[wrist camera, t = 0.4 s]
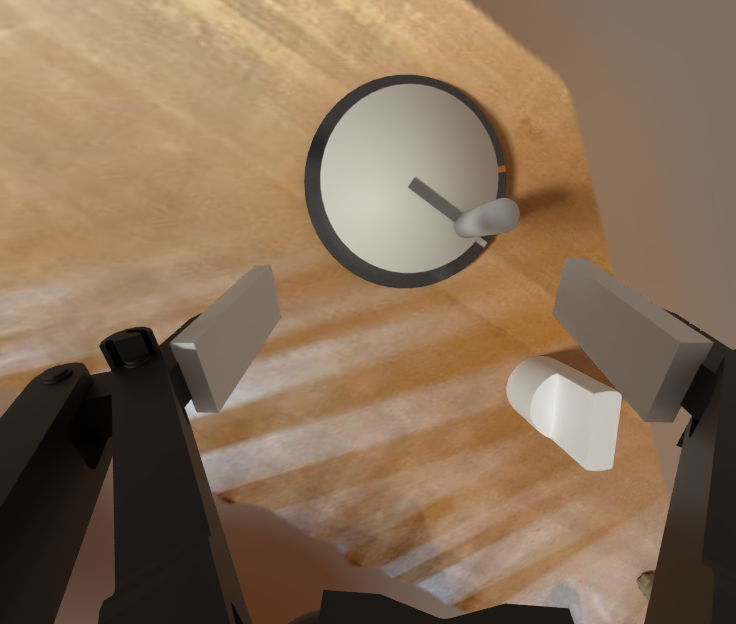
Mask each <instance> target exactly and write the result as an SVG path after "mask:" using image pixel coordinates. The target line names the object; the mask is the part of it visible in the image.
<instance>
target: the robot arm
mask: <svg viewBox="0 0 736 624" xmlns="http://www.w3.org/2000/svg"><path fill="white" fill-rule="evenodd" d="M552 315H553V316H554V317H555V318H556V319H557V320H558V322H559V323H560V324H561V325H562V326H563V327H564V329H565V330H566V331H567V332H568V333H569V334H570V336H571V337H572V338H573V339H574V340H575V341H576V343H577V344H578V345H579V346H580V347H581V348H582V350H583V351H584V352H585V353H586V354H587V355H588V357H589V358H590V359H591V360H592V361H593V362H594V364H595V365H596V366H597V367H598V368H599V369H600V371H601V372H602V373H603V374H604V375H605V376H606V378H607V379H608V380H609V381H610V382H611V383H612V385H613V386H614V387H615V388H616V389H617V390H618V391H619V393H620V394H621V395H622V396H623V397H624V398H625V400H626V401H627V402H628V403H629V404H630V405H631V407H632V408H633V409H634V410H635V411H636V412H637V414H638V415H639V416H640V417H641V418H642V419H643V421H644V422H673V421H674V419H675V417H676V415H677V414H678V411H679V410H680V408H681V406H682V407H683V408H684V409H685V410H687V412H689V413H690V414H691V415H692V418H691V419H690V421H689V423H688V425H687V427H686V428H685V430H684V432H683V434H682V436H681V438H680V440H679V442H678V443H677V446H679V447H682V450H681V455H680V460H679V464H678V470H677V473H676V478H675V483H674V488H673V492H672V497H671V501H670V506H669V511H668V515H667V520H666V525H665V529H664V534H663V539H662V543H661V548H660V553H659V557H658V562H657V567H656V571H655V576H654V581H653V585H652V590H651V595H650V599H649V604H648V609H647V613H646V618H645V623H644V624H736V349H735V350H732V349H730V348H728V347H727V346H725V345H724V344H722V343H721V342H719V341H718V340H716V339H714V338H713V337H711V336H709V335H708V334H707V333H705V332H704V331H700V329H699V328H697V327H696V326H694V325H692V324H689V322H688V321H686V320H685V319H683V318H682V317H680V316H679V315H677V314H675V313H672V312H670V311H667V310H665V309H662V308H660V307H659V306H657V305H656V304H654V303H653V302H651V301H649V300H648V299H647V298H645V297H644V296H642V295H640V294H639V293H637V292H636V291H634V290H633V289H631V288H629V287H628V286H627V285H625V284H624V283H622V282H621V281H619V280H618V279H616V278H615V277H613V276H612V275H610V274H609V273H607V272H605V271H604V270H602V269H601V268H599V267H598V266H596V265H595V264H593V263H592V262H590V261H589V260H587V259H586V258H565V262H564V266H563V270H562V275H561V279H560V283H559V288H558V292H557V296H556V301H555V305H554V309H553V314H552ZM280 318H281V313H280V308H279V303H278V298H277V293H276V288H275V283H274V278H273V273H272V269H271V265H267V266H254V267H253V268H252V269H251V270H250V271H249V272H248V273H247V274H246V275H244V276H243V277H242V278H241V279H240V280H239V281H238V282H237V283H236V284H234V285H233V286H232V287H231V288H230V289H229V290H228V291H227V292H225V293H224V294H223V295H222V296H221V297H220V298H219V299H218V300H217V301H215V302H214V303H213V304H212V305H211V306H210V307H209V308H208V309H207V310H205V311H204V312H203V313H201V314H199V315H197V316H195V317H193V318H191V319H189V320H188V321H187V322H186V323H185V324H184V325H182V326H181V328H179V329H178V330H177V331H176V332H174V334H172V335H171V336H170V337H169V338H168V339H166V340H165V341H164V342H163V343H162V344H161V345H159V346H158V343H157V341H156V338H155V336H154V334H153V331H152V330H151V329H150V328H147V327H134V328H130V329H125V330H123V331H120V332H117V333H115V334H113V335H111V336H109V337H107V338H106V339H105V340H103V341H102V342H101V344H100V346H99V347H100V349H101V351H102V353H103V355H104V357H105V359H106V361H107V363H108V365H109V366H110V368H111V371H110V372H104V373H99V374H93V375H90V373H89V371H88V369H87V368H86V366H85V365H84V364H83V363H69V364H64V365H61V366H60V365H58V366H55V367H52V369H51V368H50V369H48V370H45V371H44V372H43V373H42V374H40V375H38V376H37V377H35V378H34V379H33V380H32V381H31V382H30V383H29V384H28V385H27V386H26V387H25V389H24V390H23V391H22V392H21V394H20V395H19V396H18V397H17V398H16V400H15V401H14V402H13V403H12V405H11V406H10V407H9V408H8V410H7V411H6V412H5V413H4V414H3V416H2V417H1V418H0V624H54V621H55V618H56V616H57V613H58V609H59V607H60V604H61V601H62V598H63V596H64V593H65V590H66V587H67V584H68V581H69V579H70V575H71V572H72V570H73V567H74V564H75V561H76V558H77V556H78V553H79V550H80V547H81V544H82V542H83V539H84V536H85V533H86V530H87V527H88V524H89V522H90V519H91V516H92V513H93V510H94V507H95V504H96V501H97V499H98V495H99V493H100V490H101V487H102V485H103V481H104V479H105V476H106V473H107V470H108V467H109V465H110V462H111V459H112V456H113V483H114V484H113V488H114V536H115V537H114V539H115V592H114V595H112V596H111V597H109V598H107V599H106V600H104V601H103V604H102V606H101V608H100V612H99V621H98V624H253V623H252V621H251V618H250V615H249V613H248V609H247V606H246V603H245V600H244V597H243V593H242V591H241V587H240V584H239V581H238V577H237V574H236V571H235V568H234V564H233V561H232V558H231V555H230V551H229V548H228V545H227V542H226V538H225V535H224V532H223V529H222V525H221V522H220V519H219V516H218V512H217V509H216V506H215V503H214V499H213V496H212V493H211V490H210V486H209V483H208V480H207V477H206V473H205V470H204V467H203V464H202V460H201V457H200V454H199V451H198V447H197V444H196V441H195V438H194V434H193V431H192V428H191V425H190V421H189V418H188V415H187V413H186V410H185V408H184V407H185V406H186V405H187V404H188V402H189V401H190V400H191V399H192V402H193V404H194V407H195V409H196V412H204V413H219V411H220V410H221V408H222V407H223V405H224V404H225V402H226V401H227V399H228V398H229V396H230V395H231V393H232V391H233V390H234V388H235V387H236V385H237V384H238V382H239V381H240V379H241V378H242V376H243V375H244V373H245V372H246V370H247V368H248V367H249V365H250V364H251V362H252V361H253V359H254V358H255V356H256V355H257V353H258V352H259V350H260V349H261V347H262V346H263V344H264V342H265V341H266V339H267V338H268V336H269V335H270V333H271V332H272V330H273V329H274V327H275V326H276V324H277V323H278V321H279V320H280ZM288 624H574V621H573V619H572V616H571V613H570V610H569V608H557V607H544V606H530V605H517V604H502V605H498V606H495V607H491V608H487V609H483V610H480V611H476V612H472V613H468V614H465V615H461V616H457V617H453V618H450V619H441V618H438V617H435V616H433V615H430V614H427V613H425V612H423V611H420V610H418V609H415V608H413V607H410V606H408V605H406V604H403V603H401V602H398V601H395V600H393V599H391V598H388V597H386V596H383V595H381V594H370V593H357V592H342V591H330V590H324V591H323V597H322V603H321V609H320V610H316V611H312V612H310V613H307V614H305V615H303V616H300V617H298V618H296V619H294V620H293V621H291V622H289V623H288Z"/></svg>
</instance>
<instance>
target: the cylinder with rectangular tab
mask: <svg viewBox="0 0 736 624" xmlns="http://www.w3.org/2000/svg"><path fill="white" fill-rule="evenodd" d="M507 397H508V399H509V402H510V404H511V405H512V407H513V408H514V409H515V410H516V411H517V412H518V413H519V414H520V415H521V416H522V417H524V418H525V419H526V420H527V421H528V422H529V423H530V424H531V425H532V426H533V427H534V428H536V429H537V430H538V431H539V432H540V433H542V434H543V435H544V436H546V437H549V438H551V439H552V440H553V441H554V442H556V443H557V444H558V445H559V446H560V447H561V448H562V449H563V450H565V451H566V452H567V453H568V454H569V455H570V456H571V457H572V458H573V459H575V460H576V461H577V462H578V463H579V464H580V465H581V466H582V467H584V468H585V469H586V470H591V471H602V470H608V469H611V468H613V460H614V452H615V445H616V437H617V430H618V422H619V415H620V407H621V399H622V395H621V394H620V393H619V391H617V390H615V389H613V388H611V387H609V386H607V385H605V384H603V383H601V382H599V381H597V380H595V379H593V378H591V377H589V376H588V375H586V374H584V373H582V372H580V371H578V370H576V369H574V368H572V367H570V366H568V365H566V364H564V363H562V362H560V361H558V360H556V359H553V358H551V357H547V356H536V357H531V358H529V359H527V360H524V361H523V362H522V363H520V364H519V365H518V366H517V367H516V368H515V369H514V370H513V372H512V373H511V375H510V377H509V379H508V384H507Z"/></svg>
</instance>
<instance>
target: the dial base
mask: <svg viewBox="0 0 736 624" xmlns="http://www.w3.org/2000/svg"><path fill="white" fill-rule="evenodd" d="M401 84H421V85H426V86H431V87H434V88H437V89H440V90H443V91H445V92H447V93H449V94H451V95H453V96H455V97H456V98H457V99H459V100H460V101H462V102H463V103H464V104H465V105H466V106H467V107H469V108H470V109H471V110H472V111H473V112H474V114H475V115H476V116H477V117H478V118H479V120H480V121H481V122H482V124H483V126H484V127H485V129H486V131H487V132H488V135H489V137H490V139H491V141H492V144H493V147H494V151H495V154H496V159H497V165H498V191H497V196H496V200H497V199H500V198H505V191H506V166H505V163H504V158H503V153H502V150H501V147H500V144H499V141H498V138H497V136H496V134H495V132H494V130H493V128H492V126H491V124H490V123H489V121H488V120H487V118H486V117H485V115H484V114H483V113H482V111H481V110H480V109H479V108H478V107H477V106H476V104H475V103H473V102H472V101H471V100H470V99H469V98H468V97H467V96H466V95H464V94H463V93H461V92H460V91H458V90H457V89H455V88H454V87H452V86H450V85H448V84H446V83H443V82H441V81H439V80H435V79H432V78H429V77H424V76H417V75H395V76H387V77H383V78H380V79H376V80H373V81H371V82H368V83H366V84H364V85H362V86H360V87H358V88H356V89H355V90H353V91H352V92H350V93H349V94H347V95H346V96H345V97H344V98H343V99H341V100H340V101H339V102H338V103H337V104H336V105H335V106H334V107H333V108H332V109H331V111H330V112H329V113H328V114H327V115H326V117H325V118H324V120H323V121H322V123H321V124H320V126H319V128H318V130H317V132H316V134H315V136H314V138H313V140H312V143H311V146H310V149H309V152H308V157H307V162H306V167H305V180H304V183H305V197H306V203H307V208H308V212H309V215H310V218H311V221H312V224H313V226H314V228H315V230H316V233H317V235H318V236H319V238H320V240H321V241H322V243H323V244H324V246H325V247H326V249H327V250H328V251H329V252H330V253H331V255H332V256H333V257H334V258H335V259H336V260H337V261H338V262H339V263H340V264H341V265H342V266H344V267H345V268H346V269H348V270H349V271H351V272H352V273H353V274H355V275H357V276H359V277H361V278H363V279H364V280H367V281H370V282H372V283H375V284H378V285H382V286H386V287H393V288H416V287H422V286H427V285H431V284H434V283H437V282H440V281H442V280H444V279H447V278H449V277H451V276H452V275H454V274H456V273H457V272H459V271H460V270H462V269H463V268H464V267H465V266H467V265H468V264H469V263H470V262H471V261H472V260H473V259H474V258H475V257H476V256H477V255H478V254H479V253H480V252H481V251H482V249H483V248H484V247H485V246H486V244H487V243H488V241H489V239H490V237H491V236H492V235H487V236H480V237H478V239H477V240H476V241H475V242H474V244H473V245H472V246H471V247H470V248H468V249H467V250H466V251H465V252H464V253H463V254H462V255H460V256H459V257H458V258H456V259H455V260H453V261H451V262H449V263H448V264H446V265H443V266H441V267H439V268H436V269H433V270H429V271H425V272H417V273H400V272H393V271H388V270H385V269H381V268H378V267H376V266H374V265H372V264H369V263H367V262H366V261H364V260H362V259H361V258H359V257H358V256H357V255H355V254H354V253H353V252H352V251H351V250H350V249H349V248H348V247H347V246H346V245H345V244H344V243H343V242H342V241H341V239H340V238H339V237H338V235H337V234H336V232H335V230H334V229H333V227H332V225H331V223H330V221H329V218H328V216H327V214H326V211H325V207H324V204H323V200H322V194H321V183H320V173H321V164H322V159H323V155H324V151H325V147H326V145H327V142H328V140H329V137H330V135H331V133H332V132H333V130H334V128H335V126H336V125H337V123H338V122H339V121H340V119H341V118H342V117H343V115H344V114H345V113H346V112H347V111H348V110H349V109H350V108H351V107H352V106H353V105H355V104H356V103H357V102H358V101H360V100H361V99H362V98H364V97H366V96H367V95H369V94H371V93H373V92H375V91H378V90H380V89H382V88H386V87H390V86H394V85H401Z"/></svg>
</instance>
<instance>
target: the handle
mask: <svg viewBox="0 0 736 624" xmlns="http://www.w3.org/2000/svg"><path fill="white" fill-rule="evenodd" d="M654 576H655V575H653V574H642V576H641V577H640V578H639V579H637V582H638V584H639V589H640V590H641V592H642V593H643V594H644V595H645V596H646V598H647V599H648V600H649V599H650V595H651V590H652V585H653V581H654Z"/></svg>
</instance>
